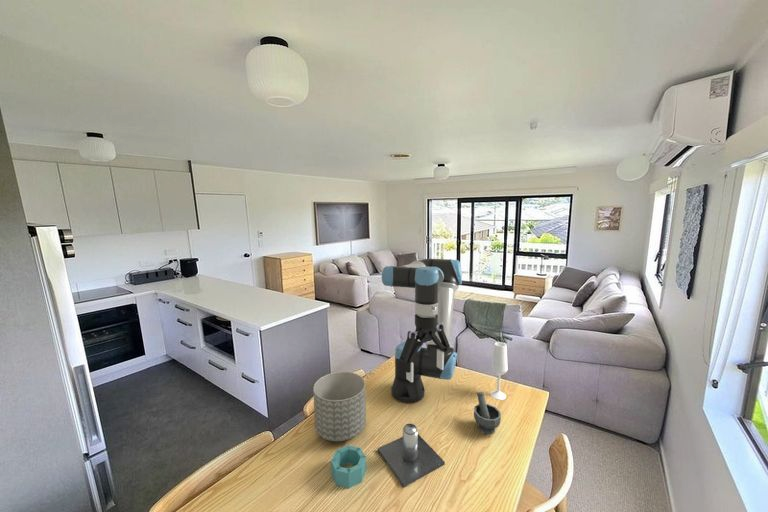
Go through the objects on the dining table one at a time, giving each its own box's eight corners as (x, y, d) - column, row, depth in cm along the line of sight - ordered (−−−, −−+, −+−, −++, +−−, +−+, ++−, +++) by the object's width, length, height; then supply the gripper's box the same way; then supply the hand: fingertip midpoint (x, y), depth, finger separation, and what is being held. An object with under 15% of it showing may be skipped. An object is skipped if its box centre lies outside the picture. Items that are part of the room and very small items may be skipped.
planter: (373, 418, 117) (372, 376, 114) (353, 455, 99) (352, 405, 96) (331, 408, 123) (329, 368, 120) (304, 441, 105) (302, 394, 103)
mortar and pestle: (505, 435, 107) (507, 405, 106) (482, 440, 105) (484, 409, 104) (487, 415, 118) (489, 387, 117) (466, 419, 116) (467, 391, 114)
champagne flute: (507, 393, 133) (510, 343, 129) (504, 401, 127) (507, 349, 124) (492, 389, 136) (494, 339, 133) (488, 396, 131) (490, 345, 127)
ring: (328, 467, 94) (327, 453, 93) (356, 455, 99) (356, 441, 98) (339, 493, 85) (339, 477, 85) (370, 477, 90) (370, 463, 90)
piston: (377, 450, 101) (377, 422, 99) (415, 433, 109) (415, 406, 107) (403, 487, 87) (403, 454, 86) (444, 464, 95) (445, 434, 94)
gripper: (402, 325, 87) (402, 391, 90) (461, 309, 100) (459, 367, 103) (388, 318, 93) (389, 380, 96) (445, 304, 106) (444, 359, 109)
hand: (425, 374), depth 100 cm, fingers open, 13 cm apart
